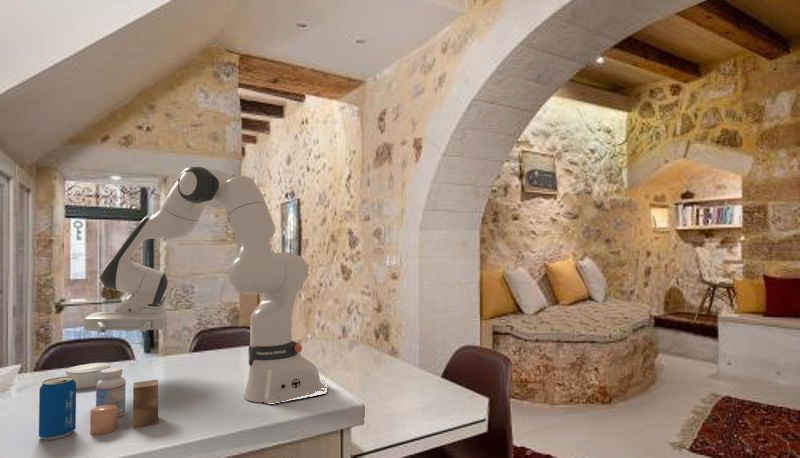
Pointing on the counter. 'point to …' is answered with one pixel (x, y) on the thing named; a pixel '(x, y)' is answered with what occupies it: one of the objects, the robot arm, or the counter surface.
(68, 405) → the beverage can
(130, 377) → the counter surface
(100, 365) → the ramekin
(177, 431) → the counter surface
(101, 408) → the peach rounded block
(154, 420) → the walnut block
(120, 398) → the pill bottle
